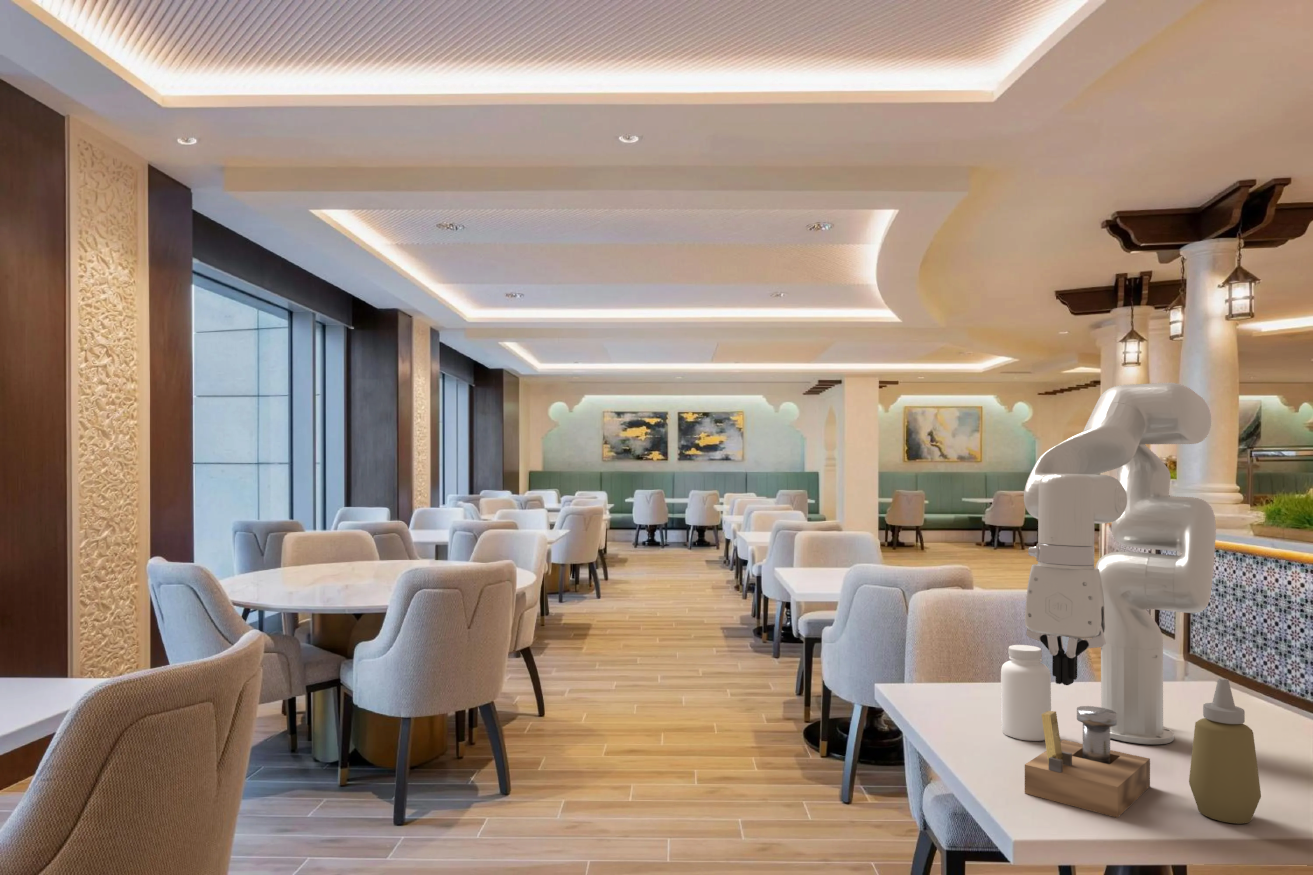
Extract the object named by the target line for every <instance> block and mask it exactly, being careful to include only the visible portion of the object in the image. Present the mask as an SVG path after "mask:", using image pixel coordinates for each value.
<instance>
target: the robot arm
mask: <svg viewBox="0 0 1313 875" xmlns="http://www.w3.org/2000/svg"><path fill="white" fill-rule="evenodd" d="M1208 405H1209V404H1208V403H1207V402H1206V400H1205V399H1204V398H1203V397H1202V396H1201V395H1200V394H1198V393H1197V392H1196V391H1195V390H1193V389H1191V388H1190V387H1188V386H1185V385H1184V384H1181V383H1177V382H1158V383H1157V382H1155V383H1154V382H1153V383H1136V384H1133V383H1132V384H1122V385H1121V384H1120V385H1115V386H1113V387H1112V386H1111V387H1109V388H1108V389H1106V390H1105V391H1104V392H1103V393H1102V394H1101V395H1100V397H1099V398H1098V400H1097V402H1096V404H1095V406H1094V408H1093V409H1092V411H1091V414H1090V416H1089V418H1088V420H1087V422H1086V424H1085V426H1084V429H1083V430H1082V432H1079V433H1077V434H1075V435H1073V436H1070V437H1068V438H1067V439H1065V440H1063V441H1061V442H1060V443H1058V444H1057V445H1055V446H1053V447H1051V448H1049V449H1047V450H1046V451H1045V452H1044V453H1042V455H1040V456H1039V458H1038V459H1037V461H1036V463H1035V464H1034V465H1033V468H1032V470H1031V471H1030V473H1029V475H1028V478H1027V481H1026V484H1025V487H1024V492H1023V502H1024V503H1023V504H1024V507H1025V509H1026V511H1027V513H1028V514H1029V516H1030V515H1031V517H1033V518H1034V519H1036V520H1037V521H1038V524H1037V526H1038V527H1037V528H1038V529H1037V531H1038V532H1037V534H1038V536H1037V542H1038V543H1036V546H1035V545H1034V546H1029V547H1028V549H1027V553H1028V556H1030V557H1034V558H1035V559H1036V561H1037V564H1032V565H1031V567H1030V571H1029V576H1028V581H1027V582H1028V583H1027V589H1026V596H1025V608H1024V625H1025V627H1026V628H1027V630H1026V634H1025V635H1026V636H1027V637H1028V638H1030V639H1033V640H1035V641H1039V642H1041V643H1042V644H1043V645H1044V647H1045V648H1046V649H1047V650H1048V651H1049V654H1050V655H1052V662H1051V663H1052V670H1051V671H1052V673H1051V674H1052V676H1053V677H1055V684H1057V685H1061V684H1063V685H1064V686H1070V685H1071V684H1073V683H1074V681H1075V680H1077V678H1078V657H1079V656H1081V654H1082V653H1083V652H1085V651H1086V650H1087V649H1095V648H1100V707H1101V708H1106V709H1109V710H1112V711H1114V712H1116V713H1117V725H1116V726H1112V727H1110V739H1111V740H1116V741H1120V742H1125V743H1131V744H1137V745H1138V744H1139V745H1152V746H1153V745H1166V744H1169V743H1172V742H1173V741H1174V740H1175V736H1174V735H1175V733H1174V732H1173V730H1171V729H1170V728H1168V727H1166V726H1164V640H1163V639H1164V638H1163V633H1162V631H1161V628H1160V626H1159V625H1158V623H1157V622H1156V621H1155V620H1154V618H1153V616H1151V614H1150V613H1149V612H1148V610H1158V611H1167V612H1177V613H1187V614H1196V613H1201V612H1203V611H1204V610H1206V608H1207V607H1208V605H1209V603H1210V599H1211V596H1212V588H1213V587H1212V586H1213V574H1214V562H1215V553H1216V552H1215V550H1216V539H1217V538H1216V537H1217V524H1216V517H1215V512H1214V510H1213V508H1212V506H1211V505H1210V504H1209V502H1207V501H1206V500H1204V499H1202V498H1199V497H1193V496H1192V497H1191V496H1176V495H1175V496H1172V495H1171V496H1170V487H1171V478H1172V477H1171V472H1170V470H1169V468H1168V466H1166V464H1165V463H1164V461H1163V460H1162V459H1161V458H1160V457H1159V456H1158V455H1157V454H1155V453H1154V452H1153V451H1152V450H1151V449H1150V448H1149V447H1148V446H1147V445H1196V444H1199V443H1201V442H1203V441H1204V440H1205V439H1206V438H1207V437H1208V435H1209V434H1210V431H1211V427H1212V413H1211V412H1210V411H1211V409H1210V408H1209V406H1208ZM1113 470H1116V478H1115V477H1114V476H1111V475H1108V474H1103V473H1106V472H1110V471H1113ZM1095 524H1111V535H1112V537H1113V539H1114V541H1116V542H1117V543H1118V544H1120V545H1121V546H1124V547H1125V546H1126V547H1127V548H1129V547H1130V548H1134V549H1145V550H1156V551H1157V550H1158V551H1159V550H1160V551H1173V552H1174V551H1175V552H1179V553H1181V554H1180V555H1174V554H1160V553H1153V552H1139V551H1138V552H1137V551H1112V552H1108V553H1106V554H1103V556H1101V557H1100V558H1099V559H1098V560H1097V561H1096V564H1095ZM1063 637H1066V638H1068V640H1067V641H1068V642H1067V645H1066V646H1067V647H1066V651H1065V648H1064V642H1063Z"/></svg>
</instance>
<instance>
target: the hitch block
mask: <svg viewBox="0 0 1313 875" xmlns="http://www.w3.org/2000/svg"><path fill="white" fill-rule="evenodd" d="M1060 742H1061V749H1062V757H1063V760H1061V759H1057V758H1053V757H1050V758H1049V765H1048V758H1047V750H1046V749H1045V751H1043V752H1042V753H1040V754H1039V755H1037V756H1035V757H1034V758H1033V759H1031V760H1030V761H1028V762H1026V763H1025V764H1024V794H1027V795H1030V796H1034V797H1036V798H1037V797H1038V798H1042V799H1044V800H1049V801H1053V802H1056V803H1061V804H1064V805H1067V806H1071V807H1075V808H1079V809H1083V810H1086V811H1087V810H1088V811H1090V812H1094V813H1098V814H1102V815H1106V816H1110V817H1114V818H1117V819H1118V818H1119V817H1121V816H1122V815H1123V813H1125V811H1126V810H1128V808H1129V807H1131V806H1132V805H1133V804H1134V803H1135V802H1136V800H1139V798H1140V797H1141V796H1142V795H1143V794H1144V793H1145V792H1146V791H1147V790H1148V789H1149V788H1150V787H1151V758H1149V757H1144V756H1139V755H1136V754H1131V753H1127V752H1121V751H1116V750H1113V749H1110V764H1105V763H1101V762H1097V761H1092V760H1088V759H1083V743H1080V742H1074V741H1072V740H1071V741H1070V740H1067V739H1062V740H1060Z"/></svg>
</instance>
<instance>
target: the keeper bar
mask: <svg viewBox="0 0 1313 875" xmlns="http://www.w3.org/2000/svg"><path fill="white" fill-rule="evenodd" d="M1041 715H1042V722H1043V729H1044V736H1045V740H1044V741H1045V742H1044V743H1045V751H1046V750H1047V758H1048V765H1049V758H1050V757H1053V758H1057V759H1061V760H1063V757H1062V749H1061V742H1060V741H1061V736H1060V728H1059V723H1058V716H1057V711H1056V710H1055V711H1054V710H1051V711H1046V712H1045V713H1043V714H1041Z"/></svg>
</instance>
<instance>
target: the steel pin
mask: <svg viewBox="0 0 1313 875" xmlns="http://www.w3.org/2000/svg"><path fill="white" fill-rule="evenodd" d="M1076 720H1077V721H1078V722H1080V723H1082V744H1083V759H1088V760H1092V761H1097V762H1101V763H1105V764H1110V750H1111V738H1110V727H1112V726H1116V725H1117V713H1116V712H1114V711H1112V710H1109V709H1106V708H1101V706H1091V705H1081V706H1078V707H1077V708H1076Z"/></svg>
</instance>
